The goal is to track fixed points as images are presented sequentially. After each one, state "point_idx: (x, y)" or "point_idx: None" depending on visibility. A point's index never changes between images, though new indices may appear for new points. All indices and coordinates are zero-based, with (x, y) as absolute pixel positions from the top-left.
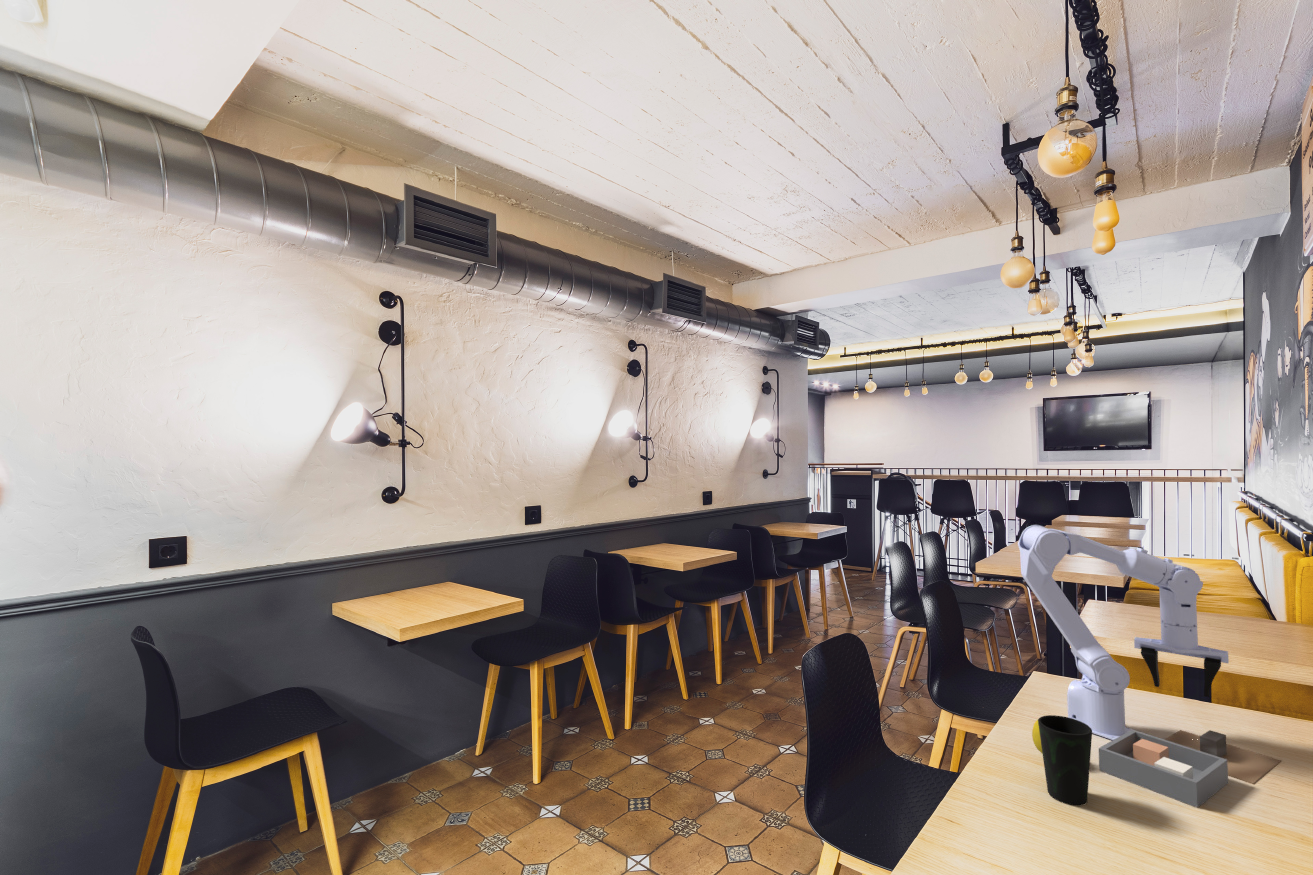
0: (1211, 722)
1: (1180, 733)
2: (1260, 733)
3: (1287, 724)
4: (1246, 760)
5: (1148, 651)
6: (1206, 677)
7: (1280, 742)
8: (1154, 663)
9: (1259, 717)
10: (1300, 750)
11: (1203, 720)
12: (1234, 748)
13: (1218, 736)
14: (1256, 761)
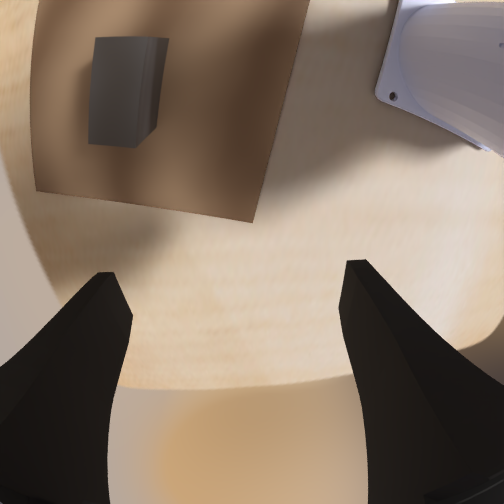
0: (203, 321)
1: (248, 192)
2: None
3: None
4: (73, 114)
5: (479, 490)
6: (37, 361)
7: None
8: (439, 396)
9: (153, 379)
10: (50, 279)
11: (218, 322)
12: (113, 183)
13: (99, 103)
14: (58, 130)
